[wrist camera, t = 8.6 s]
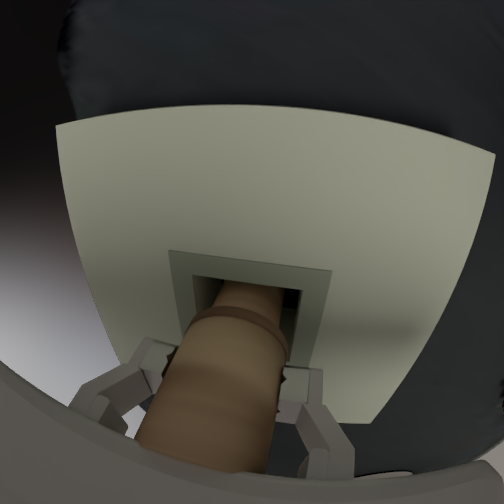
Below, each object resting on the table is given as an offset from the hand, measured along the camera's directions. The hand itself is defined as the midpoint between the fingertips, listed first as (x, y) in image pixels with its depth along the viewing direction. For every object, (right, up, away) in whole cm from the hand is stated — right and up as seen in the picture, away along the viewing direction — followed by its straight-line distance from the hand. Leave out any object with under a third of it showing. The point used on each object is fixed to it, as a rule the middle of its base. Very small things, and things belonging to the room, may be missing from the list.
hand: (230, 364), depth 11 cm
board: (+1, +3, +5) cm, 7 cm away
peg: (+1, +3, +5) cm, 6 cm away
